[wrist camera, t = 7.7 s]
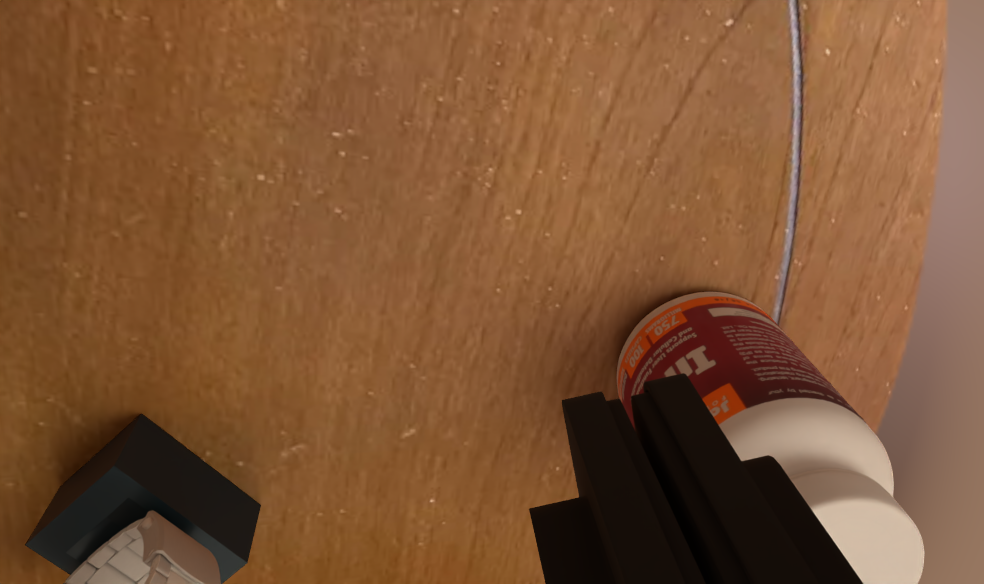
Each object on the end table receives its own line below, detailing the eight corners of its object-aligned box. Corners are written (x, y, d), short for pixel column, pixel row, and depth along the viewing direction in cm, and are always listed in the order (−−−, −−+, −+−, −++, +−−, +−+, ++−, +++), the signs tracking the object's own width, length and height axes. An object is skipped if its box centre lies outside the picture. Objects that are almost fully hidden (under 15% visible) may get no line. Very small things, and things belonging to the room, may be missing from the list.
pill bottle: (639, 271, 29) (765, 452, 19) (802, 301, 31) (1000, 487, 20) (591, 424, 32) (681, 658, 22) (743, 447, 33) (896, 679, 23)
